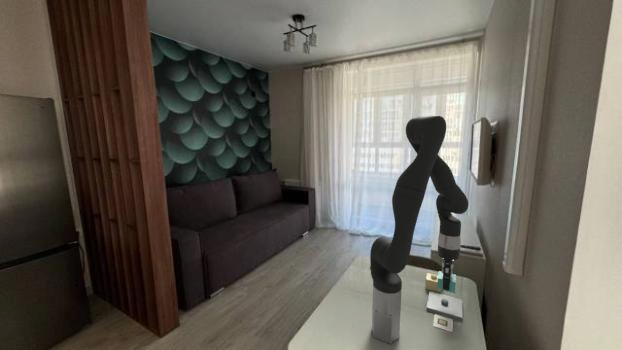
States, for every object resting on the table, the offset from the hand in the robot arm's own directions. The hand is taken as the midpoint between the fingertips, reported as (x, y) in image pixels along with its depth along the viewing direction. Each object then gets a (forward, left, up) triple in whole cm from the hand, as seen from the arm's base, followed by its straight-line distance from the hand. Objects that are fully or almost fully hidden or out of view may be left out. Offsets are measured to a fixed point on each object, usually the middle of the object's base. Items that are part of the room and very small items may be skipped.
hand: (446, 285), depth 99 cm
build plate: (0, 0, -9) cm, 9 cm away
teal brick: (0, 0, -1) cm, 1 cm away
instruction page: (-11, 0, -9) cm, 14 cm away
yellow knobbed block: (+12, +5, -9) cm, 16 cm away
